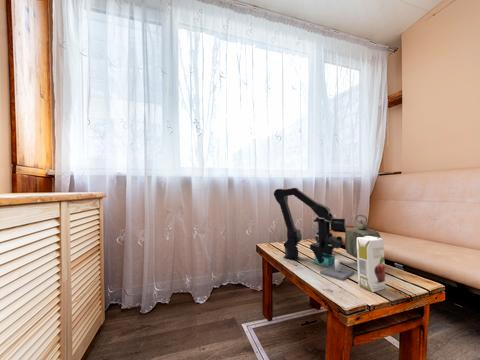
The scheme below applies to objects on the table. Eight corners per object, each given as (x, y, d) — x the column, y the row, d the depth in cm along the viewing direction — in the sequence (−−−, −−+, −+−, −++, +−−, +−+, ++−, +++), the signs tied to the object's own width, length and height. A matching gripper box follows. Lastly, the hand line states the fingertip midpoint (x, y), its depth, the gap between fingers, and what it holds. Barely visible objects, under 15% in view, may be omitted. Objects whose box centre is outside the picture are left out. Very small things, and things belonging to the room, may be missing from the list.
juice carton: (355, 285, 84) (353, 237, 85) (369, 281, 87) (367, 234, 88) (373, 294, 77) (371, 241, 78) (388, 289, 80) (386, 238, 81)
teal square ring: (314, 263, 109) (314, 255, 109) (321, 260, 114) (321, 252, 114) (328, 267, 104) (328, 258, 104) (335, 263, 108) (334, 255, 109)
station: (320, 273, 96) (320, 260, 96) (332, 267, 104) (332, 254, 104) (342, 280, 88) (342, 266, 89) (354, 272, 96) (354, 259, 96)
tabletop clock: (382, 269, 100) (380, 216, 101) (367, 271, 98) (364, 217, 99) (358, 259, 114) (356, 213, 115) (344, 261, 112) (342, 213, 113)
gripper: (330, 235, 97) (331, 270, 97) (347, 230, 110) (348, 261, 109) (308, 232, 106) (309, 264, 105) (326, 227, 118) (327, 256, 117)
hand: (324, 261), depth 109 cm, fingers open, 9 cm apart
